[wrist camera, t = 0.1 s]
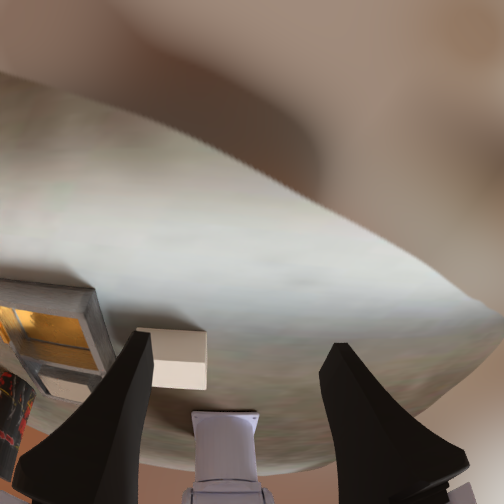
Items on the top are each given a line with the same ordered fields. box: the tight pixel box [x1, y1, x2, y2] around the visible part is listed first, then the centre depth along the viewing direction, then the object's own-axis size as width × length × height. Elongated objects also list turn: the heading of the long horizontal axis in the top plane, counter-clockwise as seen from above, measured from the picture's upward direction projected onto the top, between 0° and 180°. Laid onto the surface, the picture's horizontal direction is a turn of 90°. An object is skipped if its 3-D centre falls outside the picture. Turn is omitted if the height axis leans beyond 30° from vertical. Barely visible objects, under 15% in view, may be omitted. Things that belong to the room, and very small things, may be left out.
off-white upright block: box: [136, 327, 207, 390], centre depth 24 cm, size 4×6×4 cm, turn 84°
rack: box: [0, 278, 116, 405], centre depth 23 cm, size 15×11×3 cm
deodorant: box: [0, 372, 36, 482], centre depth 23 cm, size 6×6×15 cm
